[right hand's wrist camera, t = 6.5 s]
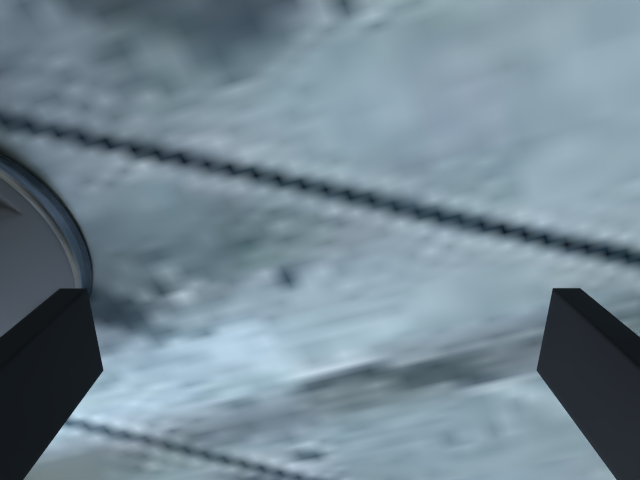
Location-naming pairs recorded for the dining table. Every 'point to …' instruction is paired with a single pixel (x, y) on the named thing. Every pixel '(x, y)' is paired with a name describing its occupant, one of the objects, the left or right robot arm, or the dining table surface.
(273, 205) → the dining table surface
